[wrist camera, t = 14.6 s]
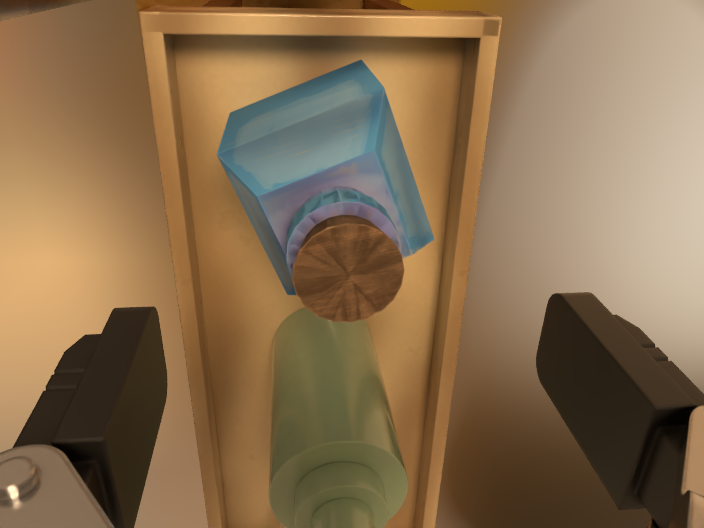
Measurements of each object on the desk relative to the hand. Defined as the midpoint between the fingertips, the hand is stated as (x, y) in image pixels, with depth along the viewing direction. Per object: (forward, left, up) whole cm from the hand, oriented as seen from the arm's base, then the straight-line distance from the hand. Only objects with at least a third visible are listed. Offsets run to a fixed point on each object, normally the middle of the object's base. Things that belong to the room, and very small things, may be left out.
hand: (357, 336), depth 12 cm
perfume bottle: (0, -1, -17) cm, 17 cm away
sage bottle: (0, -12, -16) cm, 20 cm away
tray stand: (0, -12, -39) cm, 41 cm away
